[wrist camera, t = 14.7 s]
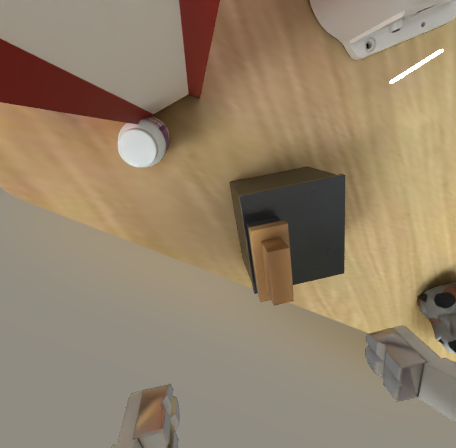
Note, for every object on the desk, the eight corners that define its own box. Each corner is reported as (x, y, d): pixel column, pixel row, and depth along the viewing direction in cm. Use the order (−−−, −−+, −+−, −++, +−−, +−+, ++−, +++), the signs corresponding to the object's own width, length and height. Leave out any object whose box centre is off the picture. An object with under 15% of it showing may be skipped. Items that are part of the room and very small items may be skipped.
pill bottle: (165, 112, 33) (157, 118, 25) (173, 152, 36) (168, 170, 27) (125, 117, 33) (102, 125, 24) (136, 157, 35) (119, 177, 27)
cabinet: (312, 164, 39) (349, 174, 30) (315, 243, 44) (347, 272, 35) (227, 181, 38) (239, 196, 29) (241, 259, 43) (254, 294, 34)
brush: (278, 214, 30) (298, 232, 25) (284, 280, 34) (302, 309, 28) (244, 221, 30) (256, 241, 25) (254, 287, 34) (266, 318, 28)
